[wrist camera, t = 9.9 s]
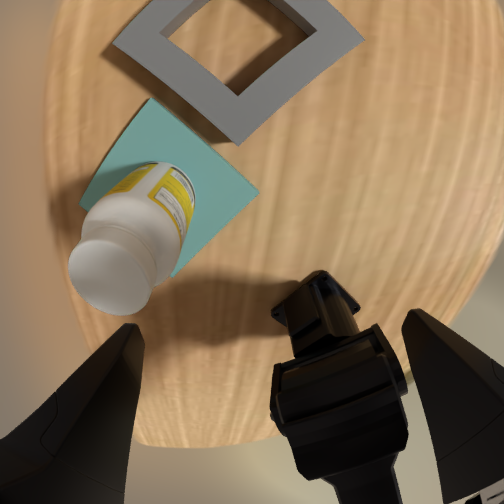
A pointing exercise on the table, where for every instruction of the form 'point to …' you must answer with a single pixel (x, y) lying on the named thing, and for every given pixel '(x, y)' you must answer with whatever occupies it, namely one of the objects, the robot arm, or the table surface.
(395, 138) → the table surface
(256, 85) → the socket block
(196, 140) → the mat
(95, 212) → the supplement bottle
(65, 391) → the robot arm
